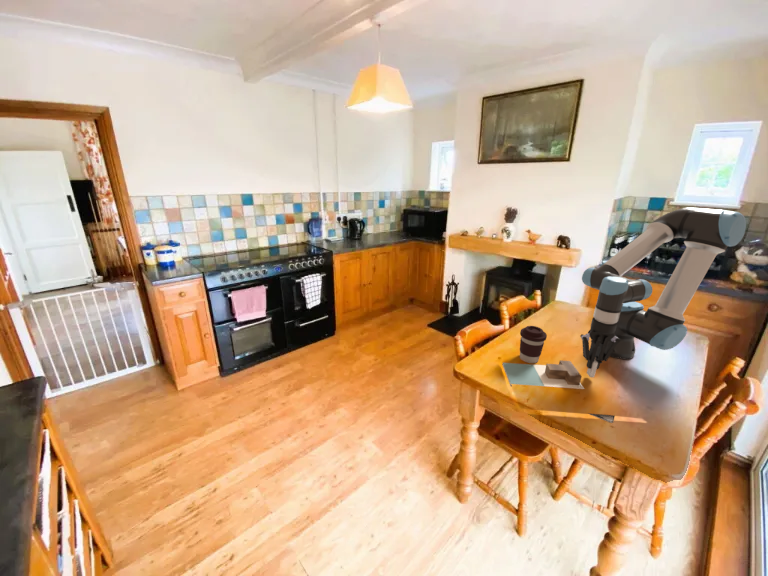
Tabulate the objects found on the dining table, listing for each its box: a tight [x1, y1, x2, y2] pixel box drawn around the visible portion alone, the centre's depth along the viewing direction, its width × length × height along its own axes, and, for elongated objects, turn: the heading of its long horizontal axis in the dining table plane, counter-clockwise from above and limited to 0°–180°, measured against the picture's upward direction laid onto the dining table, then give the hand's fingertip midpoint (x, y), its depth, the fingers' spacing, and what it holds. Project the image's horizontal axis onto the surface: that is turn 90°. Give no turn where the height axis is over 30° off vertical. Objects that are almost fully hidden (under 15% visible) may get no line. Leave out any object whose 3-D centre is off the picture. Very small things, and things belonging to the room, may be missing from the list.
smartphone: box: [588, 413, 616, 424], centre depth 111 cm, size 7×1×15 cm
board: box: [502, 362, 585, 390], centre depth 126 cm, size 26×14×1 cm, turn 83°
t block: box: [545, 360, 583, 385], centre depth 124 cm, size 10×10×4 cm
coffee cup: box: [519, 325, 548, 364], centre depth 135 cm, size 10×10×15 cm
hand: (590, 375), depth 123 cm, fingers closed
